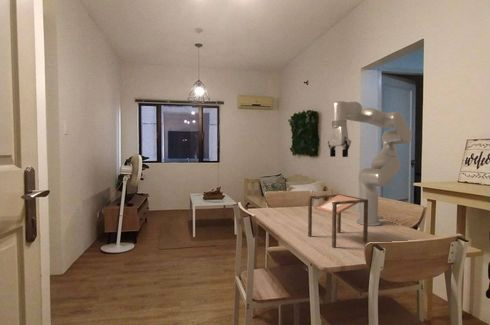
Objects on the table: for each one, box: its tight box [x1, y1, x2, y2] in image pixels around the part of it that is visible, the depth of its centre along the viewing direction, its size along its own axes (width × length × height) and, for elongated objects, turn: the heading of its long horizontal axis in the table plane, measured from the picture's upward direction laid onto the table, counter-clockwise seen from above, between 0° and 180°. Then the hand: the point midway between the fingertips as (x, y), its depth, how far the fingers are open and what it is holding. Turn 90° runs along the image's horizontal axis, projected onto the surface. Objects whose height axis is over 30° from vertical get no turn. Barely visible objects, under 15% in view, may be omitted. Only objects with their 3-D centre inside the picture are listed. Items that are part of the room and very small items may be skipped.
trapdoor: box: [314, 194, 361, 215], centre depth 137 cm, size 16×15×1 cm
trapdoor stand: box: [307, 193, 369, 249], centre depth 138 cm, size 19×19×20 cm
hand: (338, 156), depth 159 cm, fingers open, 9 cm apart
